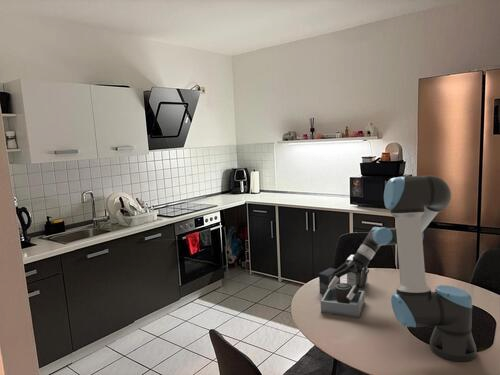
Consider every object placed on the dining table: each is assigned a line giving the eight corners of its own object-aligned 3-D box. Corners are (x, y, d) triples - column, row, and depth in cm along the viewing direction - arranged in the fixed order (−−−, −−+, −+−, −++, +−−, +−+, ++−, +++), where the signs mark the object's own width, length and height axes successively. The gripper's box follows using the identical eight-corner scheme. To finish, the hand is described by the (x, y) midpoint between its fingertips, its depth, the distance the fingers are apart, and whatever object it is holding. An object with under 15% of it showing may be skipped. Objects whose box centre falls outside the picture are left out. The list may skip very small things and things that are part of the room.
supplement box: (351, 280, 210) (350, 254, 208) (367, 282, 205) (367, 256, 203) (346, 286, 202) (345, 259, 200) (363, 289, 198) (363, 261, 196)
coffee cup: (331, 306, 178) (330, 285, 177) (340, 299, 184) (339, 280, 183) (347, 310, 173) (346, 289, 171) (355, 304, 179) (355, 283, 177)
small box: (330, 286, 204) (329, 267, 203) (341, 289, 199) (340, 269, 198) (318, 292, 197) (318, 272, 195) (329, 295, 192) (329, 275, 191)
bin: (359, 317, 167) (358, 306, 167) (320, 312, 174) (320, 301, 174) (364, 301, 183) (364, 291, 182) (329, 297, 190) (328, 286, 189)
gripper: (387, 268, 171) (362, 307, 167) (350, 254, 194) (327, 288, 189) (378, 259, 168) (352, 299, 164) (341, 245, 191) (318, 280, 186)
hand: (338, 293), depth 177 cm, fingers open, 13 cm apart
